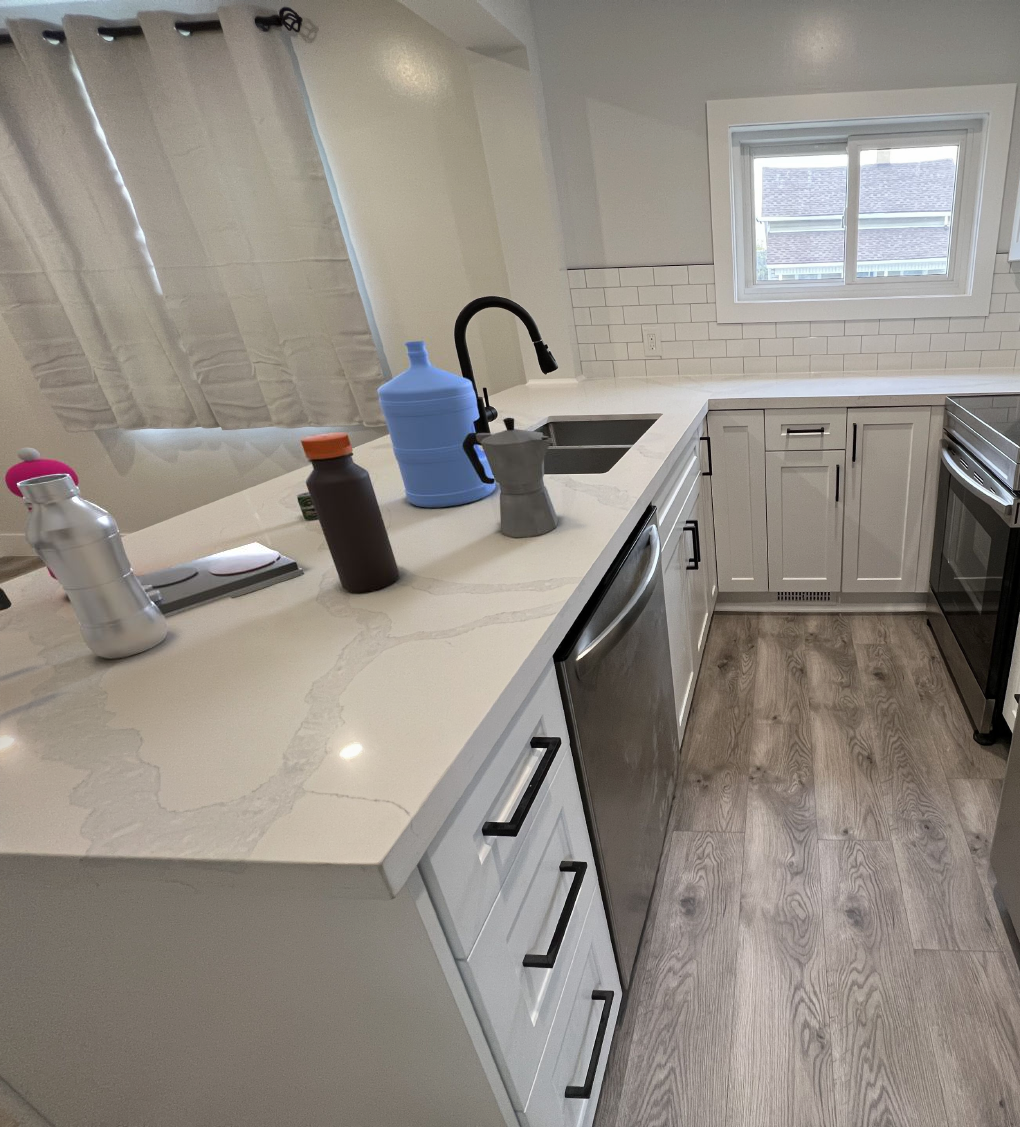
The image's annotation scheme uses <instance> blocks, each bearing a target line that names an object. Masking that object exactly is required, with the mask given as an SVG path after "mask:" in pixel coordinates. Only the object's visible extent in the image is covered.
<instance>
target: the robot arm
mask: <svg viewBox="0 0 1020 1127" xmlns="http://www.w3.org/2000/svg"><path fill="white" fill-rule="evenodd" d="M11 607H12V601H11V600H10V598H9V597H8V595H7V594H6V592H5V591H4V589H3V588H2V587H0V612H2V611H6V610H8V609H9V608H11Z"/></svg>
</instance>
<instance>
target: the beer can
mask: <svg viewBox="0 0 1020 1127" xmlns="http://www.w3.org/2000/svg"><path fill="white" fill-rule="evenodd" d="M296 498H297V503H298V505H299V509H300V511H301V513H302V514H301V515H302V516H303V519H304V520H306V521H315V520H319V519H318V516H317V514H316V511H315V508H314V505H313V502H312V499H311V497H310V494H309V491H308V492H302V493H299V494H297V495H296Z"/></svg>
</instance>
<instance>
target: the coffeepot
mask: <svg viewBox="0 0 1020 1127" xmlns="http://www.w3.org/2000/svg"><path fill="white" fill-rule="evenodd" d="M502 422H503V423H504V426H505V428H506V429H505V430H503V431H499V432H496V433H490V432H475V433H469V434H468V435H467V437H466V438H465V440H464V442H463V445H462V446H463V449H464V451H465V453H466V455H467V456H468V458H469V460H470V462H471V463H472V465H473V467H474V469H475V471H476V473H477V474H478V476H479V478H480V480H481V481H482V482H483V483H485V484H493V483H494V481H495V483H497V484H498V485H499V489H500V492H499V514H500V516H499V517H500V518H499V519H500V533H501V534H503V535H504V536H506V537H509V538H516V539H517V538H519V539H521V538H531V537H536V536H541V535H544V534H548V533H550V532H552V531H553V530H555V529H556V528H557V527H558V521H559V518H558V516H557V513H556V511H555V508H554V505H553V503H552V500H551V497H550V494H549V491H548V488H547V487H546V485H545V482H544V476H545V457H546V454H547V451H548V450H549V448H550V445H551V444H553V443H554V439H553V438H552V437H549V436H547V435H544V433H543V432H541V431H534V430H526V429H524V430H523V429H519V428H518V429H517V428H515V418H514V417H505V418H504V419H502ZM474 445H478V446H479V447H480V446H481V449H482V450H483V451H484V453H485V455H486V458H487V461H488V463H489V466H490V468H491V471H492V475H493V477H494V478H489V477H487V476H486V474H485V469H484V466H483V465H482V463H481V462H480V460H479V457H478V455H477V452H476V450H475V448H474Z"/></svg>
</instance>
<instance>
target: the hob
mask: <svg viewBox="0 0 1020 1127" xmlns="http://www.w3.org/2000/svg"><path fill="white" fill-rule="evenodd" d="M302 575H305V572H304V570H303V568H301V567H300V566H298V563H297V561H295V560H294V559H291V558H289V557H288V556H285V555H283V554H281V553H280V552H279V551H277V550H274V549H271V548H268V547H266V546H264V545H262V544H260V543H258V542H252V543H250V544H246V545H242V546H239V547H235V548H232V549H228V550H225V551H221V552H218V553H214V554H212V555H207V556H205V557H200V558H198V559H194V560H190V561H188V562H183V563H180V564H177V565H174V566H169V567H167V568H163V569H160V570H156V571H153V572H148V573H146V574H142V575H139V576H136V578H137V580H138V581H139V583H140V584H141V586H142V587H143V589H144V590H145V592H146V594H147V595H148V597H149V598H150V600H151V601H152V602H153V603H154V604H155V605H156V606H157V607H158V608H159V610H160V611H161V612H162V614H163V615H164V617H165V618H168V617H172V616H173V615H174V616H175V615H177V614H179V613H183V612H186V611H188V610H191V609H195V608H199V607H201V606H203V605H207V604H210V603H214V602H215V601H219V600H222V599H224V598H228V597H229V598H230V599H235V598H237V597H240V596H243V595H246V594H250V593H252V592H255V591H258V590H260V589H264V588H267V587H270V586H273V585H275V584H278V583H281V582H284V581H288V580H290V579H293V578H296V577H299V576H302Z"/></svg>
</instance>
